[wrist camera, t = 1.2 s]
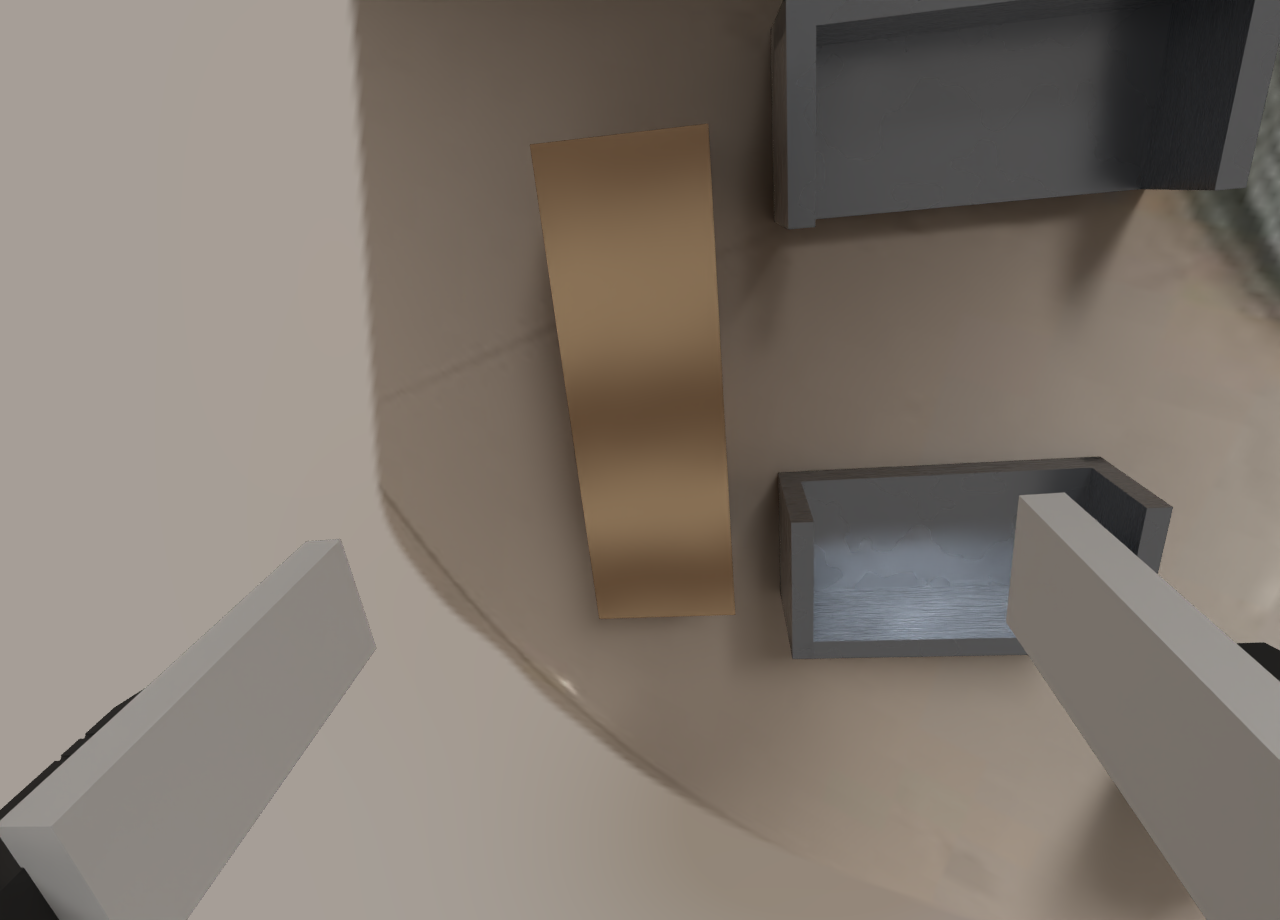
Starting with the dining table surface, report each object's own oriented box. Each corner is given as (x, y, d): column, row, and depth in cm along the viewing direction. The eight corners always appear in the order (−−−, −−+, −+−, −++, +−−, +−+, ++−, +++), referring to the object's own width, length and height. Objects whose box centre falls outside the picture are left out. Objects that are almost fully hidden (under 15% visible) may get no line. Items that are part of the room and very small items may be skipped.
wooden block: (569, 152, 24) (530, 144, 19) (707, 136, 24) (708, 123, 18) (618, 539, 30) (599, 618, 25) (729, 534, 30) (735, 614, 24)
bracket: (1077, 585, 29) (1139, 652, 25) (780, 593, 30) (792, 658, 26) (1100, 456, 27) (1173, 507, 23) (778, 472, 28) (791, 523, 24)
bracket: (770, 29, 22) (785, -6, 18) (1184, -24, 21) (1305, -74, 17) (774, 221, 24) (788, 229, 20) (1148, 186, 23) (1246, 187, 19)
